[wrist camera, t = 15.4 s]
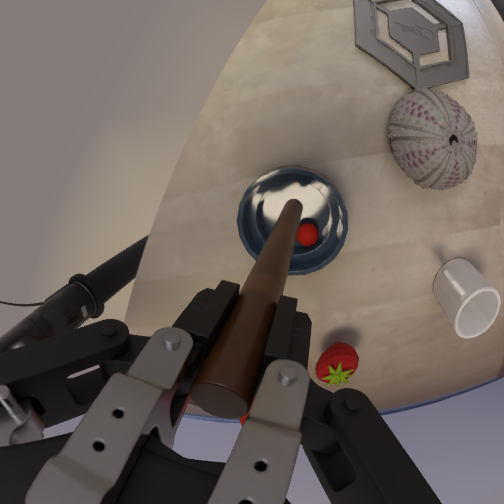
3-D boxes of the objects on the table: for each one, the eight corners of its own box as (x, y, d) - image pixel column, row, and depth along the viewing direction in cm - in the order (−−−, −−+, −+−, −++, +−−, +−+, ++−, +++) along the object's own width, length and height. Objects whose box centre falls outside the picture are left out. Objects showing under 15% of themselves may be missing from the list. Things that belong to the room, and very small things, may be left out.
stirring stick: (283, 214, 27) (190, 408, 7) (286, 196, 26) (187, 375, 7) (301, 217, 27) (246, 425, 7) (304, 200, 26) (253, 393, 6)
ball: (304, 215, 36) (288, 228, 35) (321, 222, 34) (305, 236, 33) (308, 232, 38) (294, 245, 37) (324, 240, 36) (310, 253, 35)
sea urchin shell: (417, 73, 25) (440, 59, 18) (480, 144, 26) (511, 147, 19) (364, 138, 31) (377, 136, 24) (431, 207, 32) (456, 223, 25)
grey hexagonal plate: (354, 77, 28) (355, 76, 27) (350, -30, 20) (351, -32, 19) (467, 109, 25) (470, 108, 24) (455, 1, 17) (457, 0, 16)
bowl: (241, 246, 41) (231, 261, 36) (256, 156, 35) (246, 158, 30) (329, 267, 39) (330, 285, 34) (353, 178, 33) (359, 183, 28)
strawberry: (309, 346, 45) (304, 389, 36) (341, 321, 42) (344, 364, 33) (331, 362, 45) (330, 405, 36) (364, 340, 42) (369, 383, 33)
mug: (444, 231, 33) (474, 257, 24) (479, 277, 33) (507, 308, 24) (409, 270, 36) (430, 305, 27) (448, 311, 37) (469, 347, 28)
